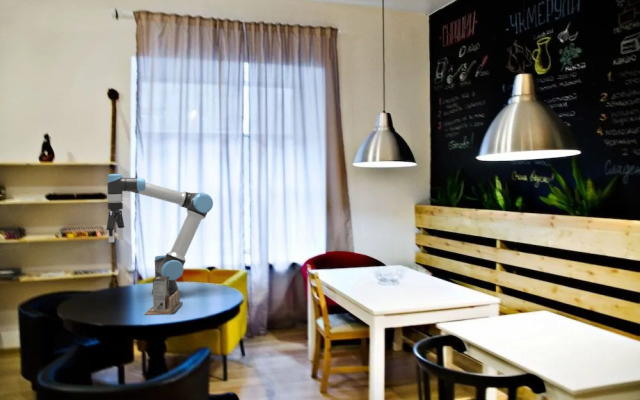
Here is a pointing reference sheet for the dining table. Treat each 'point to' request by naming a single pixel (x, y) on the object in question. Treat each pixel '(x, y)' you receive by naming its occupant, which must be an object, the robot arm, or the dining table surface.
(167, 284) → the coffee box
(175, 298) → the hinge bracket
